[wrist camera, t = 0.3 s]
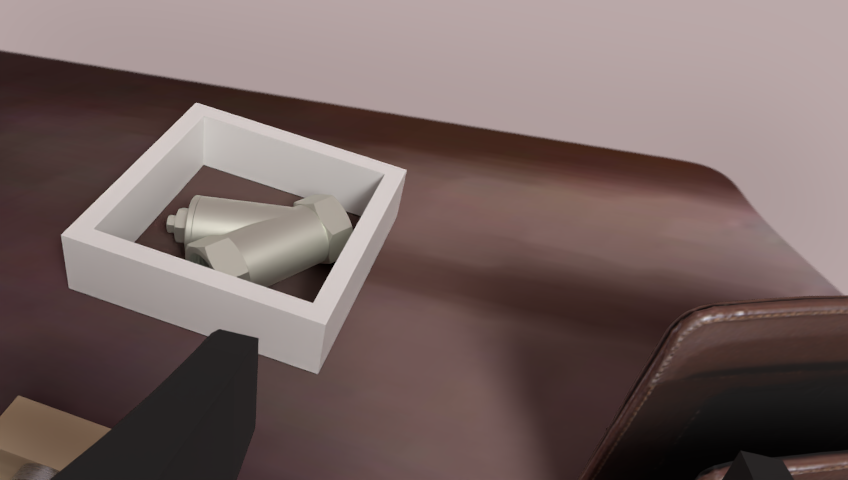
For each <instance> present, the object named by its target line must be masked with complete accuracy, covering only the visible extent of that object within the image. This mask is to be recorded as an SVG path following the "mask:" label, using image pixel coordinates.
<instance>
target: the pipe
mask: <svg viewBox="0 0 848 480" xmlns="http://www.w3.org/2000/svg"><path fill="white" fill-rule="evenodd" d="M57 473H59V471H57V470H55V469H53V468H51V467H48V466H45V465H41V464H36V463H28V464H24V465H23V466H22V467H21V468H20V469H19V470H18V472H17V473H16V474H15V475H14V477H13V478H12V479H11V480H50V479H51V478H52V477H53V476H55V475H56V474H57Z"/></svg>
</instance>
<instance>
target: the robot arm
mask: <svg viewBox="0 0 848 480" xmlns="http://www.w3.org/2000/svg"><path fill="white" fill-rule="evenodd" d="M258 343H259V338H256V337H252V336H247V335H243V334H239V333H235V332H230V331H226V330H222V329H218V330H216V331H214V332H212V333H211V334H210V335H209V336H208V337H207V338H206V339H205V340H204V342H203V343H202V344H201V345H200V346H199V347H198V348H197V349H196V350H195V351H194V352H193V353H192V354H191V355H190V356H189V357H188V358H187V359H186V360H185V361H184V362H183V363H182V364H181V365H180V366H179V367H178V368H177V369H176V370H175V371H174V372H173V373H172V374H171V375H170V376H169V377H168V378H167V379H166V380H165V381H164V382H162V383H161V384H160V385H159V386H158V387H157V388H156V389H155V390H154V391H153V392H152V393H151V394H150V395H149V396H148V397H147V398H145V399H144V400H143V401H142V402H141V403H140V404H139V405H138V406H137V407H135V408H134V409H133V410H132V411H131V412H130V413H129V414H128V415H127V416H125V417H124V418H123V419H122V420H121V421H120V422H119V423H118V424H116V425H115V426H114V427H113V428H112V429H111V430H110V431H109V432H107V433H106V434H105V435H104V436H103V437H102V438H100V439H99V440H98V441H97V442H95V443H94V444H93V445H92V446H91V447H89V448H88V449H87V450H86V451H84V452H83V453H82V454H81V455H79V456H78V457H77V458H76V459H75V460H73V461H72V462H71V463H70V464H68V465H67V466H66V467H65V468H63V469H62V470H61V471H60V472H59V473H57V474H56V475H55V476H53V477H52V478H51V479H50V480H236V479H237V477H238V474H239V471H240V469H241V466H242V463H243V460H244V458H245V455H246V452H247V449H248V446H249V443H250V440H251V438H252V435H253V432H254V429H255V419H256V394H257V368H258ZM722 480H794V479H793V477H792V475H791V474H790V472H789V470H788V469H787V467H786V465H785V464H784V462H783V460H779V459H775V458H771V457H767V456H762V455H758V454H754V453H749V452H745V451H741V450H740V452H739V454H738V455H737V457H736V458H735V460H734V461H733V463H732V465H731V466H730V468H729V469H728V471H727V473H726V474H725V476H724V477H723V479H722Z"/></svg>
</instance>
